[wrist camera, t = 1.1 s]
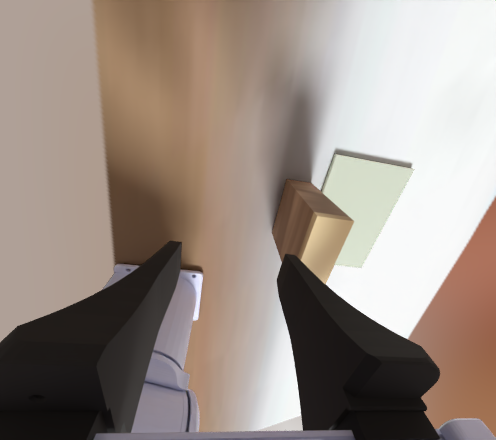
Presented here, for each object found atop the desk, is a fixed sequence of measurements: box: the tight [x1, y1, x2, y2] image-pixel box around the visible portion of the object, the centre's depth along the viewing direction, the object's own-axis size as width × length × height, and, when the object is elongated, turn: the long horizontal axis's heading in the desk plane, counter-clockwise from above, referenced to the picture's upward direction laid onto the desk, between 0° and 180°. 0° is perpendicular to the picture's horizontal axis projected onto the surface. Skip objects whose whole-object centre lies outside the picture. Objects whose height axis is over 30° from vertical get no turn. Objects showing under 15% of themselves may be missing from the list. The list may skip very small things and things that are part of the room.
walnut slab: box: [272, 179, 354, 284], centre depth 18 cm, size 2×6×8 cm, turn 169°
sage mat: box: [321, 154, 414, 268], centre depth 22 cm, size 8×12×1 cm, turn 170°
